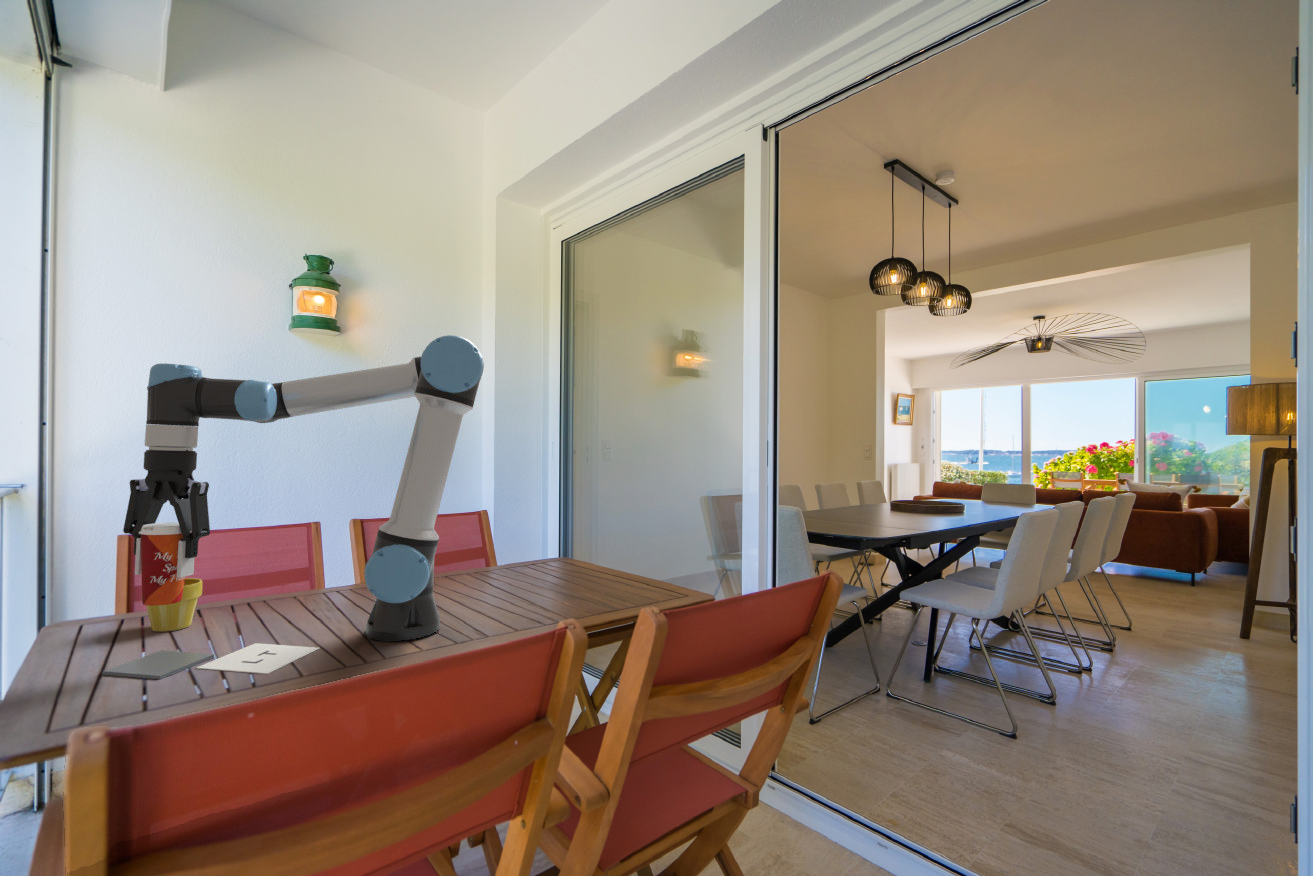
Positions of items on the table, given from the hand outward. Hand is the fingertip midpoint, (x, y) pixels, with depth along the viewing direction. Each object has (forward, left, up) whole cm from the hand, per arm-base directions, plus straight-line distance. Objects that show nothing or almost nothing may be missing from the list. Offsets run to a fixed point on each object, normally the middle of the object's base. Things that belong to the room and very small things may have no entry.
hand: (164, 574), depth 109 cm
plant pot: (+18, -20, -17) cm, 32 cm away
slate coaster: (0, 0, -17) cm, 17 cm away
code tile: (-14, -7, -17) cm, 23 cm away
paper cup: (0, 0, -5) cm, 5 cm away
